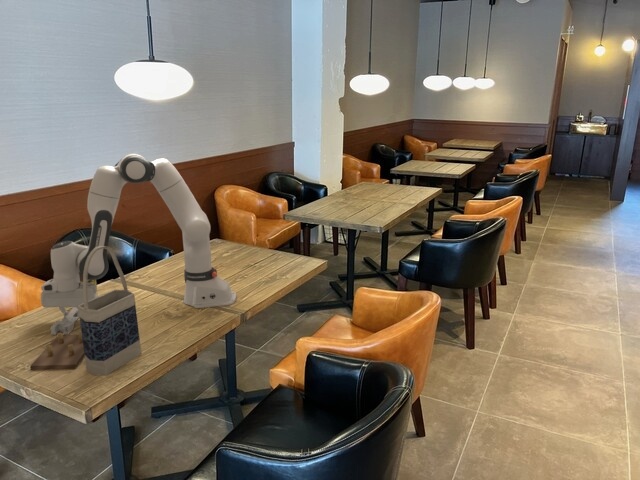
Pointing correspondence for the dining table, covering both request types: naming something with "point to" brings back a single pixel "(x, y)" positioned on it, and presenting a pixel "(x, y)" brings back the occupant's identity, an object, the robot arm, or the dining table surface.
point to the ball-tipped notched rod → (65, 323)
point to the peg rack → (61, 353)
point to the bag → (108, 325)
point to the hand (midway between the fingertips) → (72, 316)
